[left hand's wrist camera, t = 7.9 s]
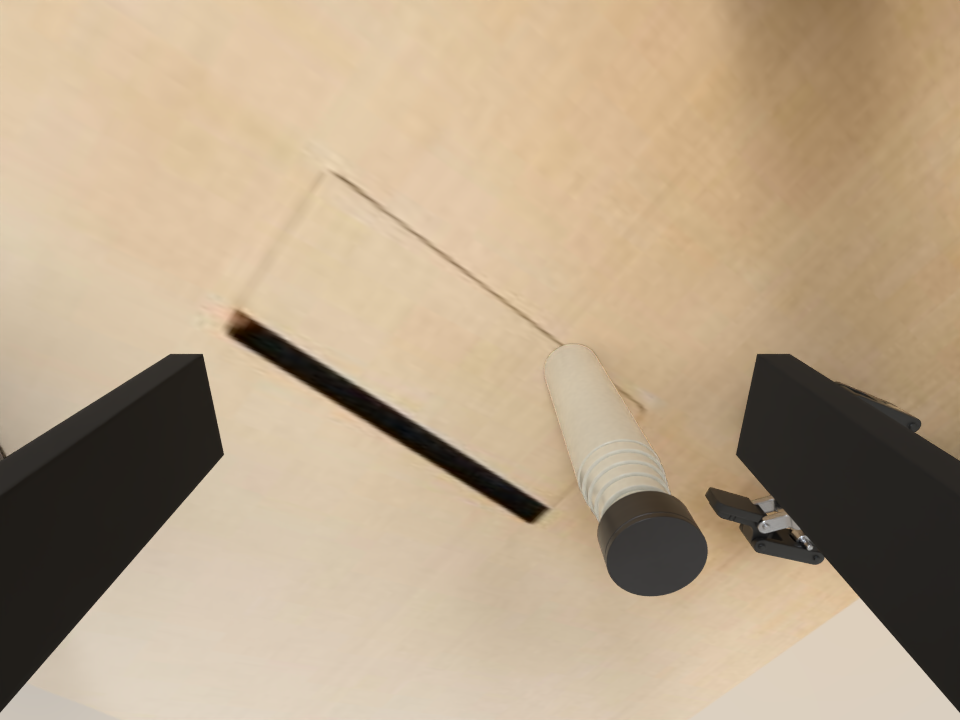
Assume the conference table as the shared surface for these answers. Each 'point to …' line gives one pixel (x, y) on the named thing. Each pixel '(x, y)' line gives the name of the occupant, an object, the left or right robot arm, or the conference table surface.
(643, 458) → the bottle
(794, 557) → the right robot arm
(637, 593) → the cap
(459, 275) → the conference table surface
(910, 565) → the left robot arm
